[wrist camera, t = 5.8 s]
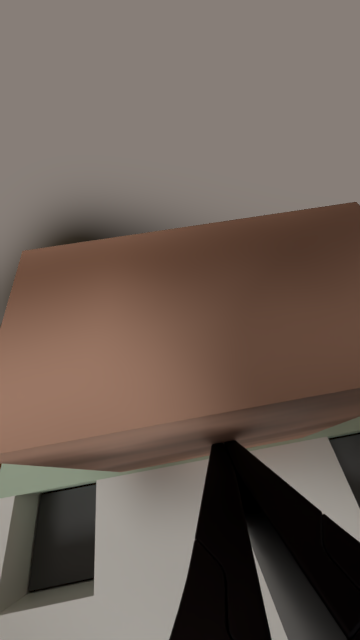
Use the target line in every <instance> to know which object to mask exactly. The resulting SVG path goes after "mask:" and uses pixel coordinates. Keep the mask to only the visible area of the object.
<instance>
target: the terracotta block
mask: <svg viewBox="0 0 360 640" xmlns="http://www.w3.org/2000/svg"><path fill="white" fill-rule="evenodd" d="M357 417H360V205H359V204H358V203H357V202H353V203H346V204H339V205H332V206H325V207H318V208H311V209H304V210H299V211H291V212H284V213H277V214H271V215H264V216H257V217H250V218H243V219H236V220H230V221H223V222H216V223H209V224H203V225H196V226H189V227H182V228H175V229H168V230H162V231H155V232H148V233H141V234H135V235H128V236H121V237H114V238H107V239H100V240H94V241H87V242H80V243H73V244H67V245H60V246H53V247H46V248H39V249H32V250H26V251H22V255H21V258H20V262H19V266H18V269H17V272H16V276H15V279H14V283H13V286H12V290H11V293H10V297H9V300H8V304H7V307H6V311H5V315H4V318H3V321H2V325H1V328H0V463H3V464H16V465H30V466H43V467H57V468H70V469H84V470H97V471H111V472H125V471H131V470H136V469H141V468H146V467H152V466H157V465H162V464H167V463H173V462H178V461H183V460H188V459H193V458H199V457H204V456H209V455H210V450H211V445H212V444H216V443H223V444H224V442H227V441H232V440H236V441H237V442H238V443H240V444H241V445H242V446H243V447H244V448H251V447H256V446H261V445H267V444H272V443H277V442H282V441H288V440H293V439H298V438H303V437H306V436H308V435H311V434H314V433H317V432H319V431H322V430H325V429H327V428H330V427H333V426H335V425H338V424H341V423H343V422H346V421H349V420H351V419H354V418H357Z"/></svg>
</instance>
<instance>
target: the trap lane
mask: <svg viewBox="0 0 360 640" xmlns="http://www.w3.org/2000/svg"><path fill="white" fill-rule="evenodd" d="M355 433H360V417H357V418H354V419H351V420H349V421H346V422H343V423H341V424H338V425H335V426H333V427H330V428H327V429H325V430H322V431H319V432H317V433H314V434H311V435H308V436H306V437H303V438H298V439H293V440H288V441H282V442H277V443H272V444H267V445H261V446H256V447H251V448H246V449H247V450H248V451H249V452H250V453H252V454H253V455H254V456H255V457H257V458H258V459H259V460H260V461H261V462H263V463H264V464H265V465H266V466H267V467H269V468H270V469H271V470H272V471H273V472H275V473H276V474H277V475H278V476H279V477H281V478H282V479H283V480H284V481H285V482H287V483H288V484H289V485H290V486H292V487H293V488H294V489H295V490H296V491H298V492H299V493H300V494H301V495H302V496H304V497H305V498H306V499H307V500H308V501H310V502H311V503H312V504H313V505H314V506H316V507H317V508H318V509H319V510H320V511H321V512H322V514H325V515H327V516H328V517H329V518H330V519H332V520H333V521H334V522H335V523H336V524H338V525H339V526H340V527H341V528H343V529H344V530H345V531H346V532H348V533H349V534H350V535H351V536H353V537H354V538H355V539H356V540H358V541H359V542H360V434H359V435H353V436H348V437H343V438H338V439H332V440H329V439H328V438H334V437H339V436H344V435H350V434H355ZM209 456H210V455H209ZM209 456H204V457H199V458H193V459H188V460H183V461H178V462H173V463H167V464H162V465H157V466H152V467H146V468H141V469H136V470H131V471H125V472H111V471H97V470H84V469H70V468H57V467H43V466H30V465H16V464H3V463H2V465H1V470H0V640H169V638H170V635H171V632H172V628H173V625H174V622H175V618H176V615H177V612H178V608H179V605H180V601H181V597H182V593H183V590H184V586H185V582H186V578H187V574H188V569H189V564H190V559H191V554H192V549H193V543H194V540H195V533H196V528H197V522H198V517H199V511H200V506H201V500H202V494H203V489H204V483H205V478H206V472H207V467H208V461H209ZM92 483H96V485H91V486H86V487H80V488H75V489H70V490H65V491H59V492H54V493H49V494H44V495H42V493H44V492H50V491H55V490H60V489H65V488H71V487H76V486H81V485H86V484H92ZM252 551H253V548H252ZM253 555H254V560H255V564H256V569H257V574H258V578H259V583H260V588H261V592H262V597H263V601H264V606H265V611H266V615H267V620H268V625H269V629H270V634H271V638H272V640H288V639H287V636H286V633H285V631H284V628H283V626H282V623H281V621H280V618H279V615H278V613H277V610H276V608H275V605H274V603H273V600H272V597H271V595H270V592H269V590H268V587H267V585H266V582H265V579H264V577H263V574H262V572H261V569H260V567H259V564H258V561H257V559H256V556H255V554H254V551H253ZM90 578H94V579H91V580H86V581H81V582H76V583H71V582H75V581H80V580H85V579H90ZM66 583H71V584H67V585H62V586H57V587H52V588H47V589H43V590H38V591H33V592H30V591H32V590H37V589H42V588H46V587H51V586H56V585H61V584H66Z"/></svg>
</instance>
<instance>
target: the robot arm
mask: <svg viewBox="0 0 360 640" xmlns="http://www.w3.org/2000/svg"><path fill="white" fill-rule="evenodd" d="M252 548H253V551H254V554H255V556H256V559H257V561H258V564H259V567H260V569H261V572H262V574H263V577H264V579H265V582H266V585H267V587H268V590H269V592H270V595H271V597H272V600H273V603H274V605H275V608H276V610H277V613H278V615H279V618H280V621H281V623H282V626H283V628H284V631H285V633H286V636H287V639H288V640H360V542H359V541H358V540H356V539H355V538H354V537H353V536H351V535H350V534H349V533H348V532H346V531H345V530H344V529H343V528H341V527H340V526H339V525H338V524H336V523H335V522H334V521H333V520H332V519H330V518H329V517H328V516H327V515H325V514H322V512H321V511H320V510H319V509H318V508H317V507H316V506H314V505H313V504H312V503H311V502H310V501H308V500H307V499H306V498H305V497H304V496H302V495H301V494H300V493H299V492H298V491H296V490H295V489H294V488H293V487H292V486H290V485H289V484H288V483H287V482H285V481H284V480H283V479H282V478H281V477H279V476H278V475H277V474H276V473H275V472H273V471H272V470H271V469H270V468H269V467H267V466H266V465H265V464H264V463H263V462H261V461H260V460H259V459H258V458H257V457H255V456H254V455H253V454H252V453H250V452H249V451H248V450H247V449H246V448H244V447H243V446H242V445H241V444H240V443H238V442H237V441H236V440H232V441H227V442H224V444H223V443H216V444H212V445H211V450H210V456H209V461H208V467H207V472H206V478H205V483H204V489H203V494H202V500H201V506H200V511H199V517H198V522H197V528H196V533H195V540H194V543H193V549H192V554H191V559H190V564H189V569H188V574H187V578H186V582H185V586H184V590H183V593H182V597H181V601H180V605H179V608H178V612H177V615H176V618H175V622H174V625H173V628H172V632H171V635H170V638H169V640H272V638H271V634H270V629H269V625H268V620H267V615H266V611H265V606H264V601H263V597H262V592H261V588H260V583H259V578H258V574H257V569H256V564H255V560H254V555H253V551H252Z"/></svg>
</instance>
